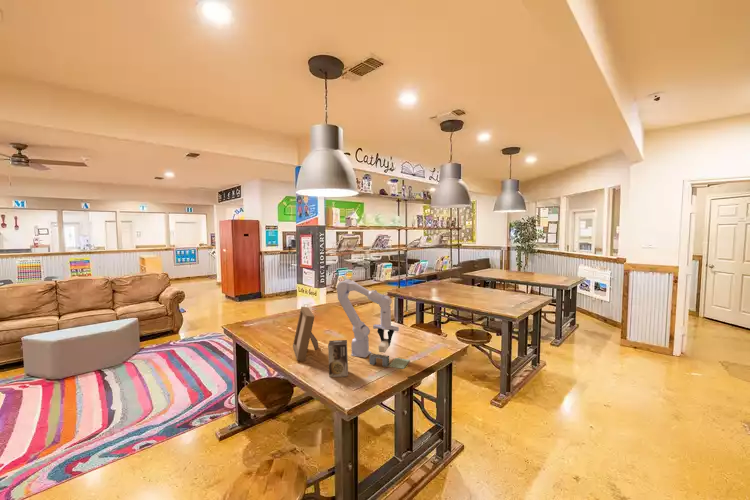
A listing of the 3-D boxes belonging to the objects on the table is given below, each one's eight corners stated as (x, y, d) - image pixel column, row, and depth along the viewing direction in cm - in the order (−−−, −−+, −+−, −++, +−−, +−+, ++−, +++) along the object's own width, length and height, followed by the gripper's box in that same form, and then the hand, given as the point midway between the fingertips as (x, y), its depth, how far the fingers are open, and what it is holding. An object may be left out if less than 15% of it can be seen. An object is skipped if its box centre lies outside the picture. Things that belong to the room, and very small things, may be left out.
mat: (388, 366, 164) (388, 365, 164) (395, 358, 174) (395, 357, 174) (403, 368, 161) (403, 368, 161) (409, 360, 171) (409, 359, 171)
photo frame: (297, 362, 171) (296, 316, 169) (292, 347, 191) (291, 307, 189) (324, 358, 176) (323, 314, 174) (317, 344, 196) (316, 305, 195)
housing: (369, 364, 167) (369, 354, 166) (371, 361, 170) (371, 352, 169) (387, 367, 163) (387, 357, 163) (389, 364, 166) (389, 355, 165)
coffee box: (348, 370, 160) (347, 339, 159) (347, 376, 153) (346, 344, 152) (330, 371, 159) (329, 340, 158) (328, 377, 153) (327, 344, 152)
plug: (378, 351, 170) (378, 346, 169) (384, 344, 178) (383, 338, 177) (385, 352, 169) (384, 346, 168) (390, 344, 176) (389, 339, 175)
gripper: (370, 319, 173) (371, 343, 174) (395, 321, 168) (396, 346, 169) (375, 315, 180) (376, 338, 181) (399, 318, 174) (400, 342, 175)
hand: (386, 342), depth 175 cm, fingers closed on plug, 3 cm apart
